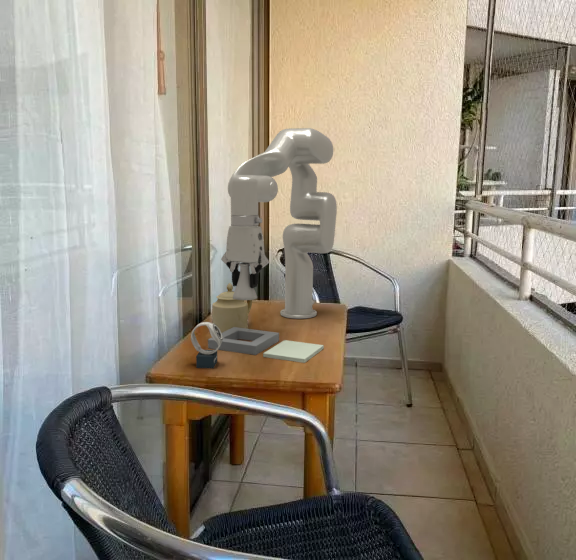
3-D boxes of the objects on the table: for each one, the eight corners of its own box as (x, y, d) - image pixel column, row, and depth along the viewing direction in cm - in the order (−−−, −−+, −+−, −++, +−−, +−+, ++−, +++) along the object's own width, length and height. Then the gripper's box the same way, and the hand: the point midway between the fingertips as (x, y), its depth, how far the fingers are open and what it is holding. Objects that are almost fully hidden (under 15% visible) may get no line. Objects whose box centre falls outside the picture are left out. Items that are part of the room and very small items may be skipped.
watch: (221, 368, 148) (220, 326, 146) (189, 367, 149) (188, 325, 147) (224, 361, 154) (224, 320, 152) (194, 360, 154) (193, 319, 152)
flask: (254, 301, 163) (254, 266, 161) (228, 300, 164) (228, 265, 162) (260, 296, 170) (260, 262, 168) (236, 295, 171) (236, 261, 169)
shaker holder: (234, 335, 179) (234, 327, 179) (279, 341, 173) (279, 332, 173) (208, 348, 166) (207, 339, 165) (255, 355, 160) (255, 346, 159)
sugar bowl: (220, 322, 195) (219, 277, 192) (253, 323, 193) (253, 278, 191) (208, 334, 180) (207, 285, 178) (244, 335, 179) (243, 286, 176)
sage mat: (284, 343, 171) (284, 340, 171) (323, 348, 166) (323, 345, 166) (263, 356, 158) (263, 353, 158) (304, 362, 153) (304, 359, 153)
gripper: (278, 221, 163) (277, 286, 166) (224, 219, 170) (225, 281, 173) (266, 224, 156) (266, 291, 160) (210, 221, 163) (212, 286, 166)
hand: (245, 285), depth 166 cm, fingers closed on flask, 4 cm apart
